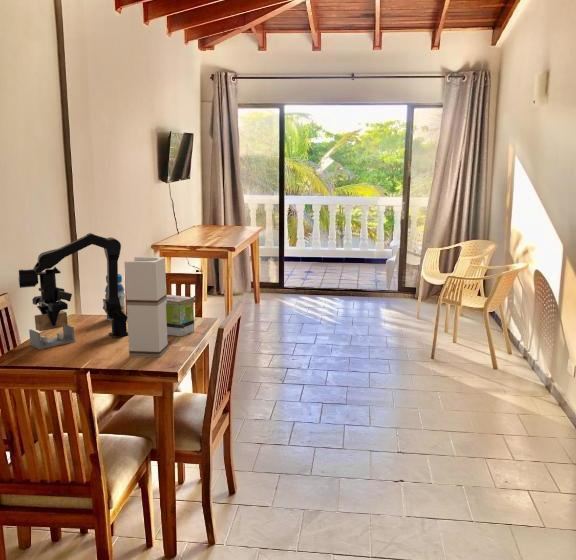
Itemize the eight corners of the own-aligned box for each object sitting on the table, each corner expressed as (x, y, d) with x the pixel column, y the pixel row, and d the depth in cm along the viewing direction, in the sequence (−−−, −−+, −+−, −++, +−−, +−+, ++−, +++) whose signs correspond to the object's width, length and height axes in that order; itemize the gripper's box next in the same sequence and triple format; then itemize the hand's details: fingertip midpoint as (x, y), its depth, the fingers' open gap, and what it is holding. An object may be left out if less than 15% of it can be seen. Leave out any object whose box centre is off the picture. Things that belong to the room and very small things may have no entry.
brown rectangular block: (40, 331, 240) (38, 317, 238) (35, 329, 242) (34, 315, 241) (67, 325, 247) (66, 312, 246) (63, 324, 250) (62, 310, 249)
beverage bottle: (128, 316, 286) (126, 273, 282) (121, 321, 277) (119, 277, 274) (111, 316, 287) (108, 273, 283) (103, 321, 278) (100, 276, 275)
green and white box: (195, 331, 262) (194, 296, 259) (180, 337, 253) (179, 301, 250) (166, 327, 269) (164, 293, 266) (151, 332, 260) (149, 297, 257)
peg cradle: (65, 337, 254) (64, 322, 253) (75, 341, 248) (74, 326, 246) (29, 344, 244) (28, 329, 243) (39, 349, 238) (38, 334, 237)
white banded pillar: (168, 348, 238) (164, 257, 232) (159, 357, 228) (155, 262, 221) (139, 347, 240) (135, 256, 233) (129, 356, 229) (124, 261, 223)
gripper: (79, 285, 240) (82, 325, 243) (57, 279, 253) (60, 316, 256) (51, 290, 233) (54, 330, 236) (30, 283, 246) (33, 321, 249)
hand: (51, 324), depth 244 cm, fingers closed on brown rectangular block, 4 cm apart
